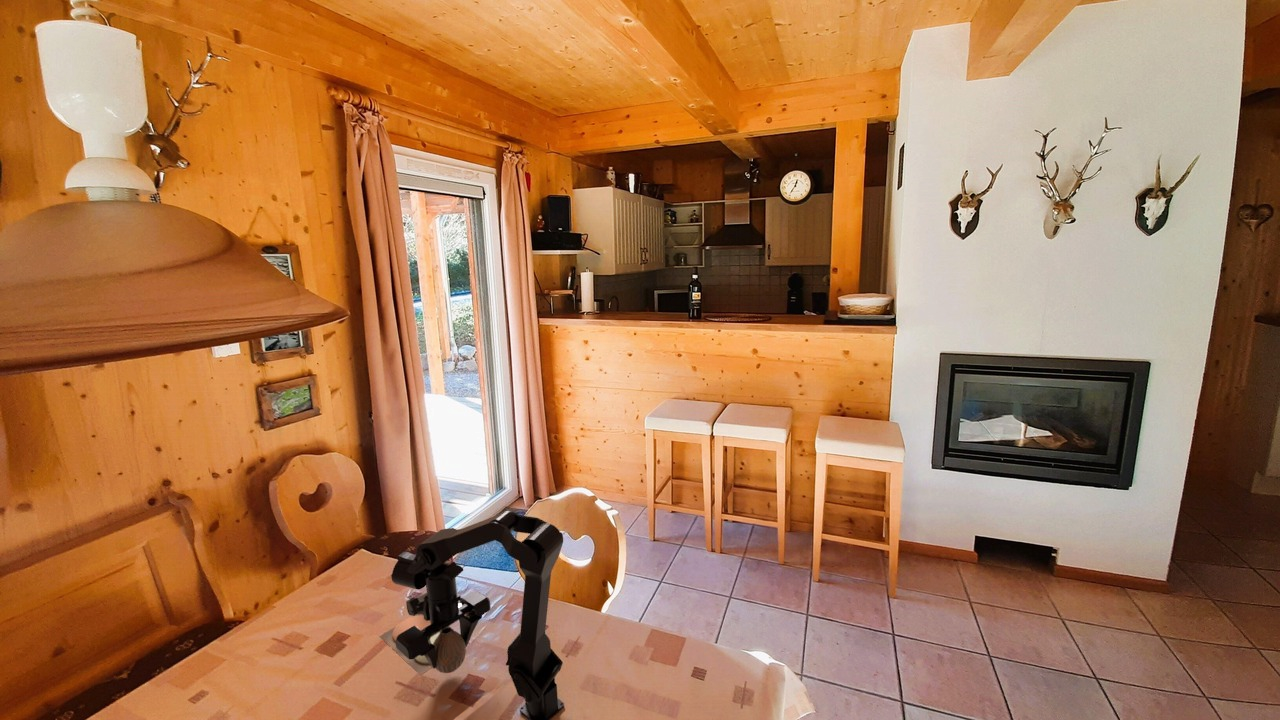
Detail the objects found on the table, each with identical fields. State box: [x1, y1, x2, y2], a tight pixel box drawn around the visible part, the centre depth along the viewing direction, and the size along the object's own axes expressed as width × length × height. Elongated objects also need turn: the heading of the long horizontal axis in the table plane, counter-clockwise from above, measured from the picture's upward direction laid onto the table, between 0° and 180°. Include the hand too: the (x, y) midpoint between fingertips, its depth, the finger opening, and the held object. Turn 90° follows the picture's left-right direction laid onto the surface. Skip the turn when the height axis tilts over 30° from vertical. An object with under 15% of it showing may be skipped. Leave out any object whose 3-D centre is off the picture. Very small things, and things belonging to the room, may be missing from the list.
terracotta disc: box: [393, 615, 431, 641], centre depth 125 cm, size 9×9×1 cm
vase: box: [433, 626, 467, 674], centre depth 110 cm, size 7×7×9 cm
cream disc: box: [415, 632, 440, 664], centre depth 119 cm, size 9×9×1 cm
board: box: [378, 614, 470, 676], centre depth 122 cm, size 19×12×1 cm, turn 51°
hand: (449, 656), depth 111 cm, fingers closed on vase, 7 cm apart
